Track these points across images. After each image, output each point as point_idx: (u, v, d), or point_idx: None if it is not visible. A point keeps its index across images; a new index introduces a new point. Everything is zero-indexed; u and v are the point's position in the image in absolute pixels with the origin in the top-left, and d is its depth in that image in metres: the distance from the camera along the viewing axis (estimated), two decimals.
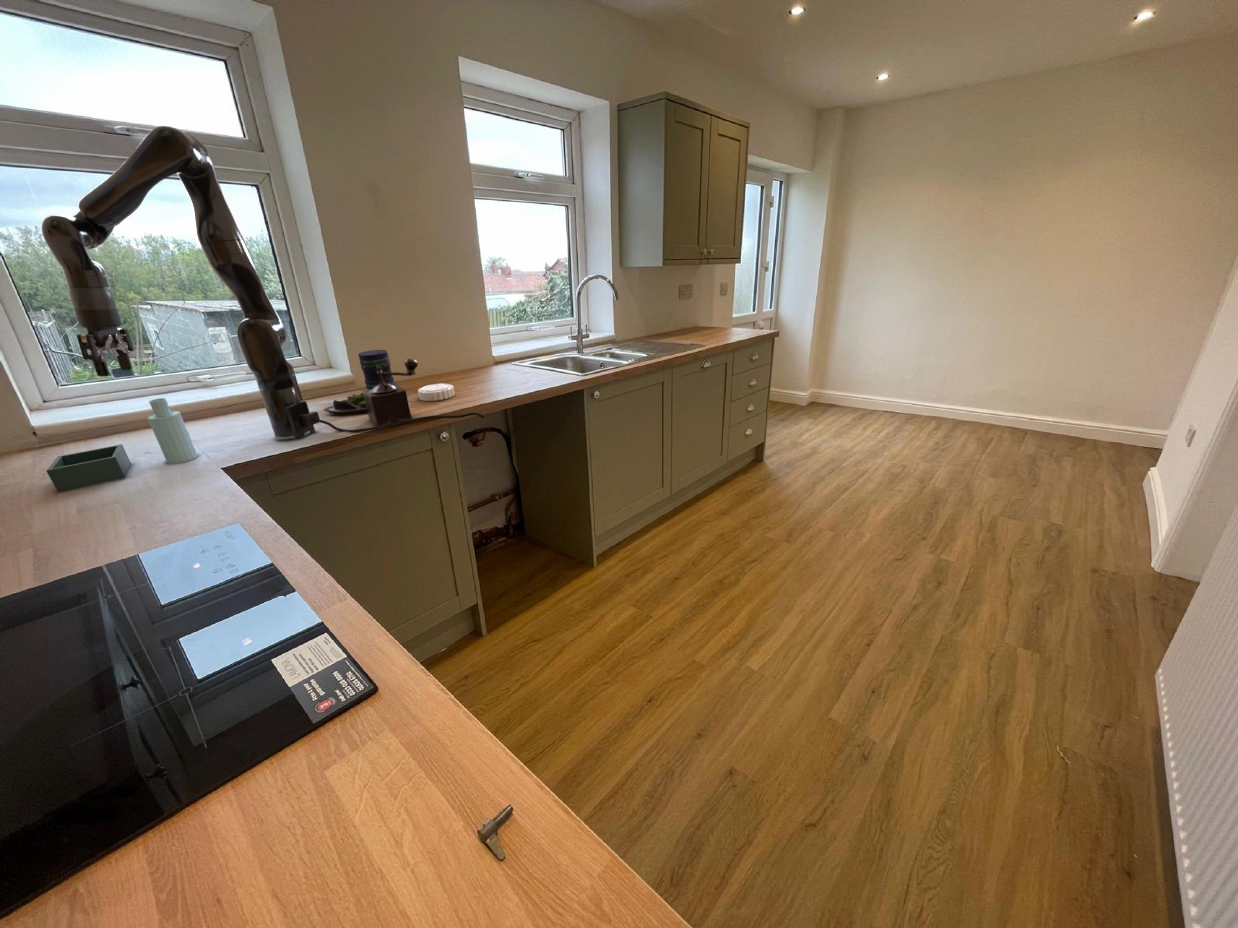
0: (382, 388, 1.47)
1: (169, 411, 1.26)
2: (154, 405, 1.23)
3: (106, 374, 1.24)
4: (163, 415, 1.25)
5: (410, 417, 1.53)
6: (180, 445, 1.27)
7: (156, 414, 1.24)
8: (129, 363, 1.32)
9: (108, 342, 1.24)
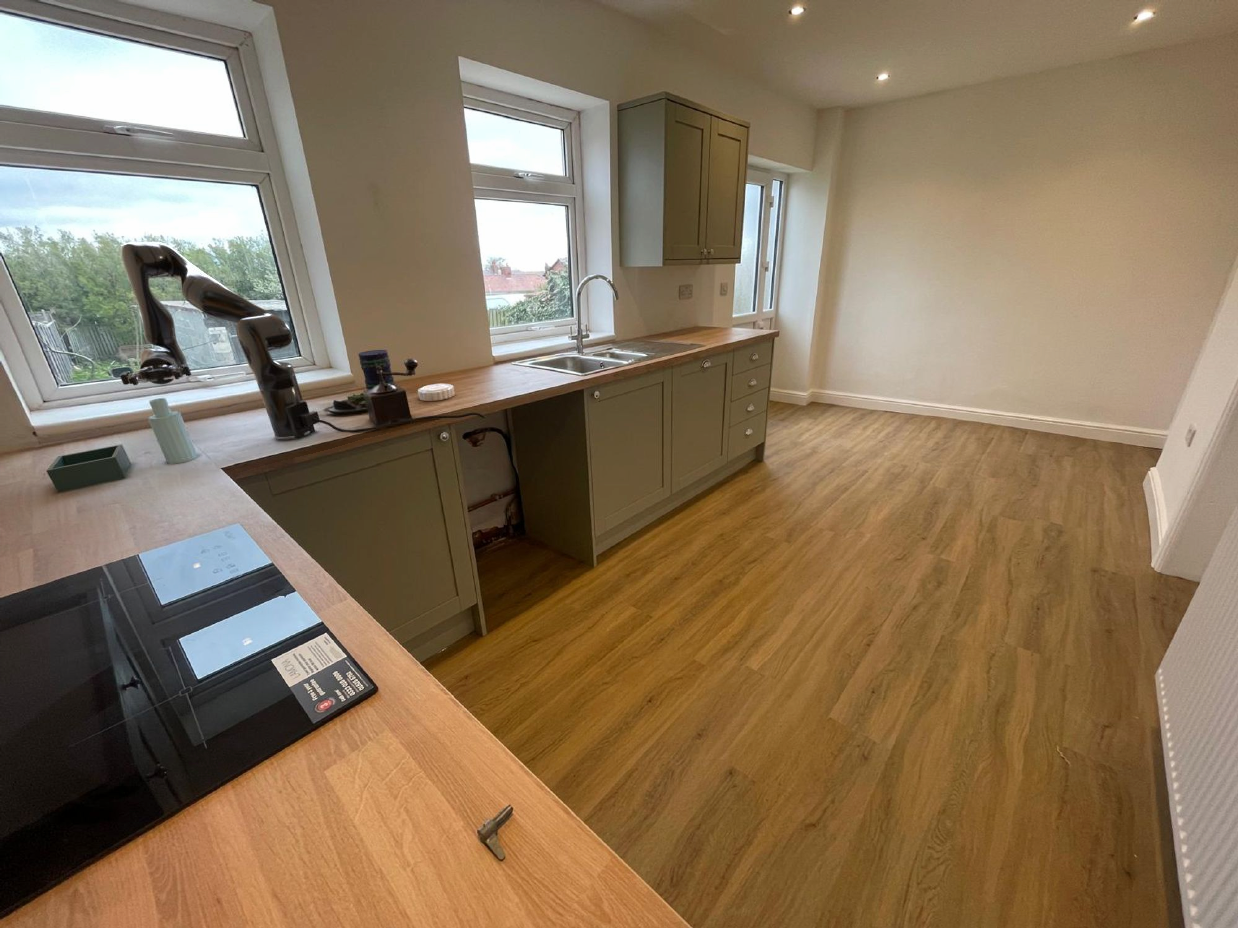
0: (382, 388, 1.47)
1: (169, 411, 1.26)
2: (154, 405, 1.23)
3: None
4: (163, 415, 1.25)
5: (410, 417, 1.53)
6: (180, 445, 1.27)
7: (156, 414, 1.24)
8: (174, 370, 1.34)
9: (144, 368, 1.35)
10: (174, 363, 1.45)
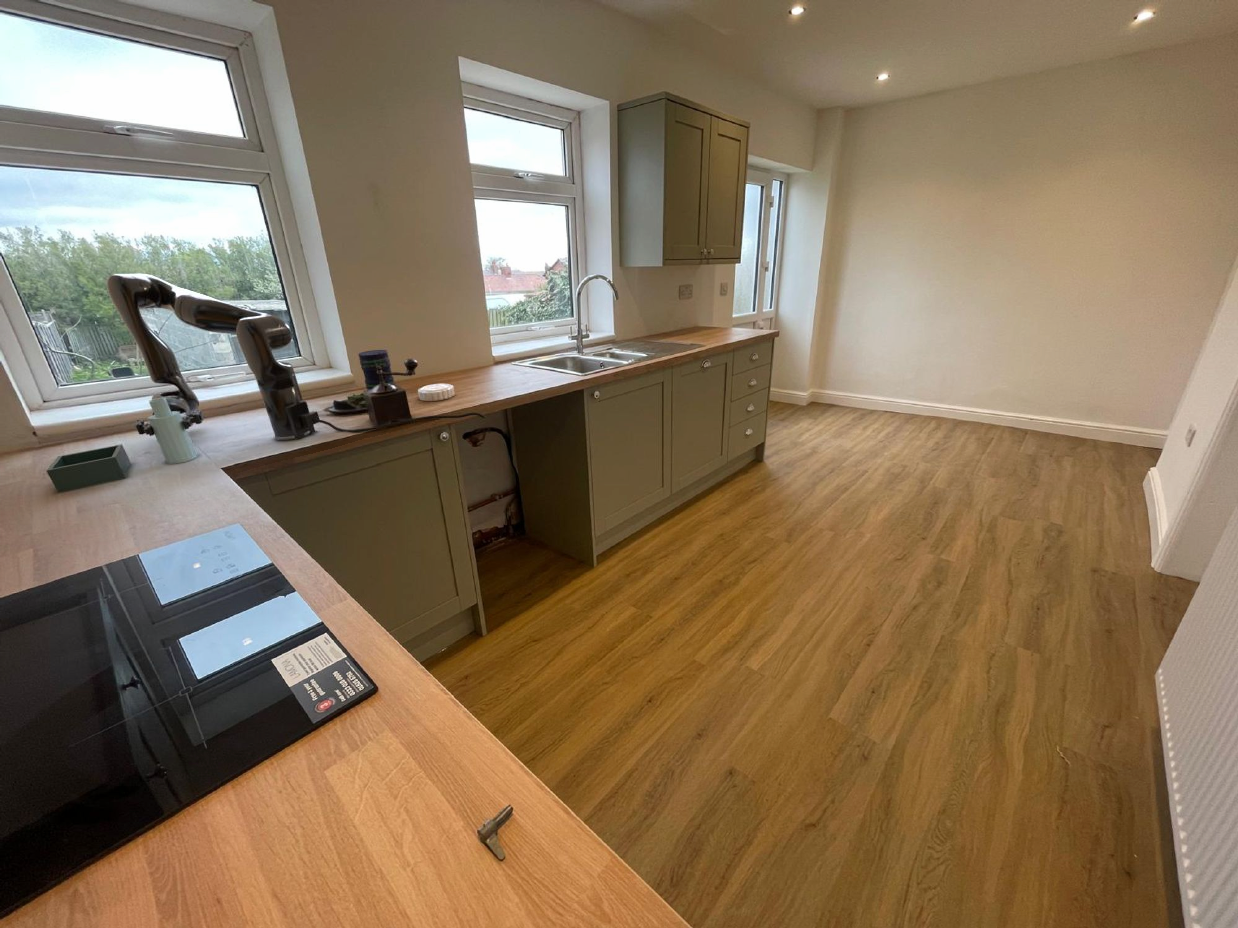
0: (382, 388, 1.47)
1: (169, 411, 1.26)
2: (154, 405, 1.23)
3: None
4: (163, 415, 1.25)
5: (410, 417, 1.53)
6: (180, 445, 1.27)
7: (156, 414, 1.24)
8: (183, 420, 1.28)
9: None
10: (187, 408, 1.39)
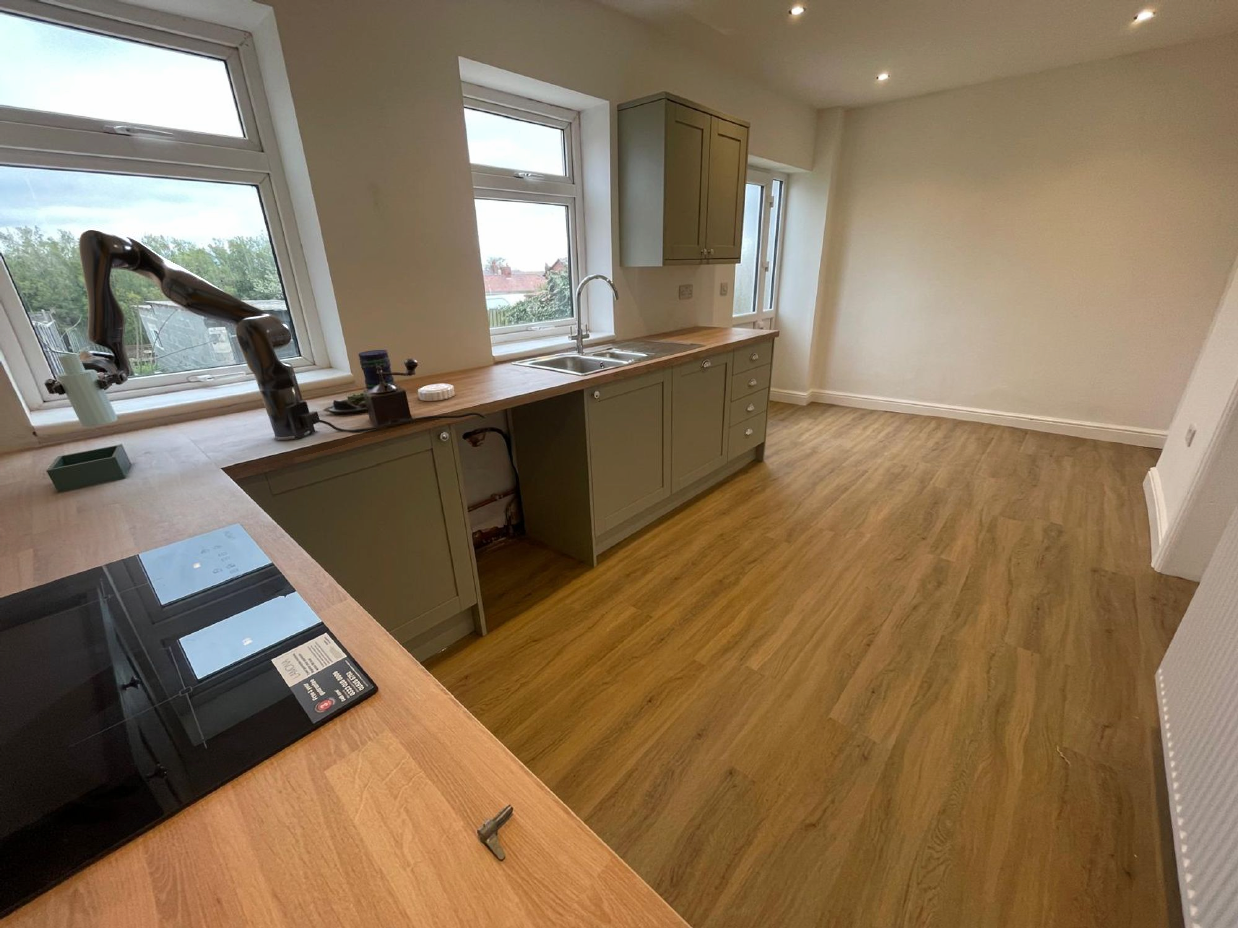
0: (382, 388, 1.47)
1: (82, 368, 1.15)
2: (63, 361, 1.12)
3: None
4: (74, 372, 1.13)
5: (410, 417, 1.53)
6: (95, 406, 1.16)
7: (66, 371, 1.13)
8: (99, 379, 1.17)
9: None
10: (110, 369, 1.28)
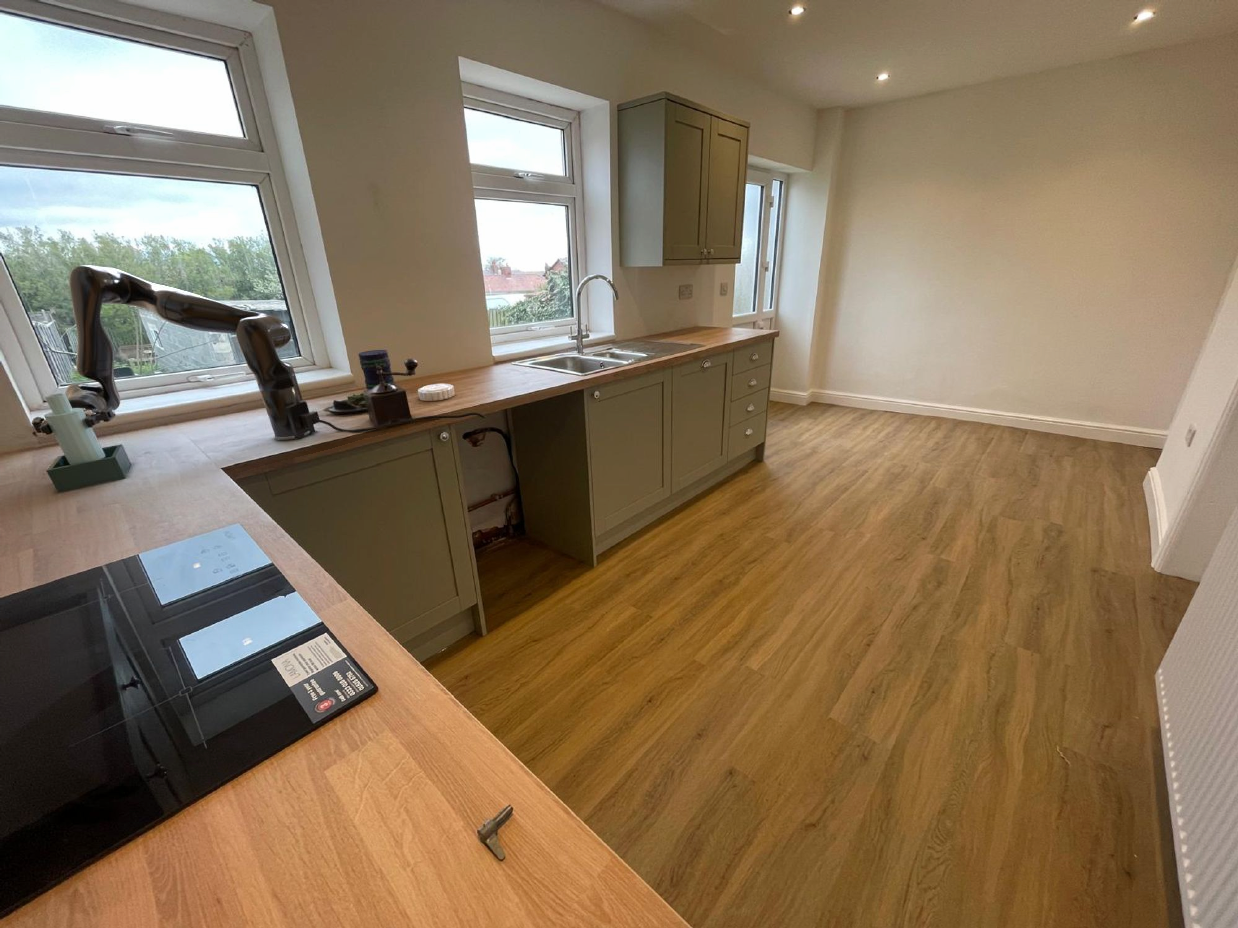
0: (382, 388, 1.47)
1: (69, 408, 1.15)
2: (50, 401, 1.12)
3: None
4: (61, 412, 1.14)
5: (410, 417, 1.53)
6: (82, 445, 1.17)
7: (53, 411, 1.13)
8: (86, 417, 1.17)
9: None
10: (99, 404, 1.28)
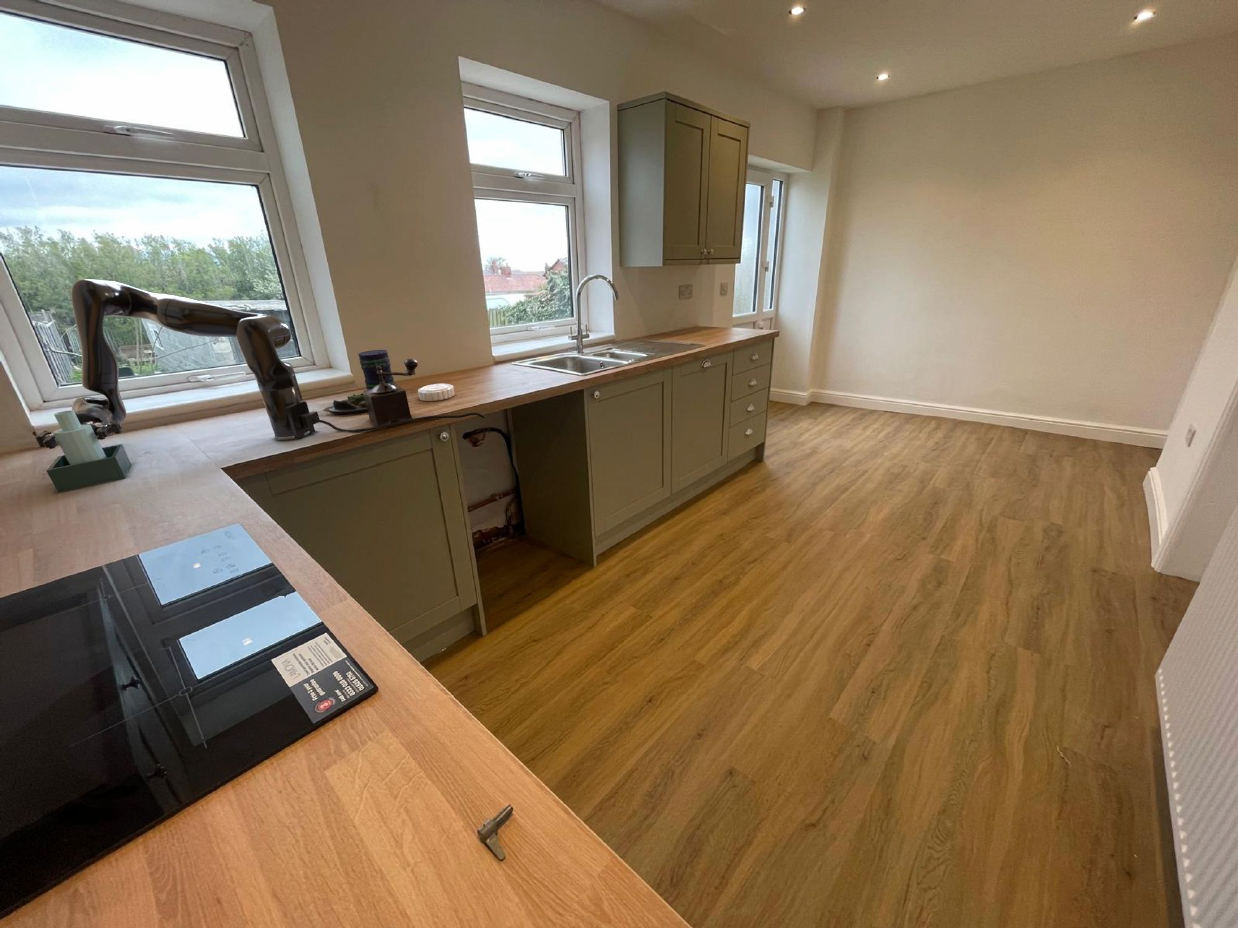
0: (382, 388, 1.47)
1: (78, 424, 1.17)
2: (59, 418, 1.14)
3: None
4: (70, 429, 1.16)
5: (410, 417, 1.53)
6: None
7: (62, 428, 1.15)
8: (98, 429, 1.19)
9: None
10: (105, 417, 1.29)
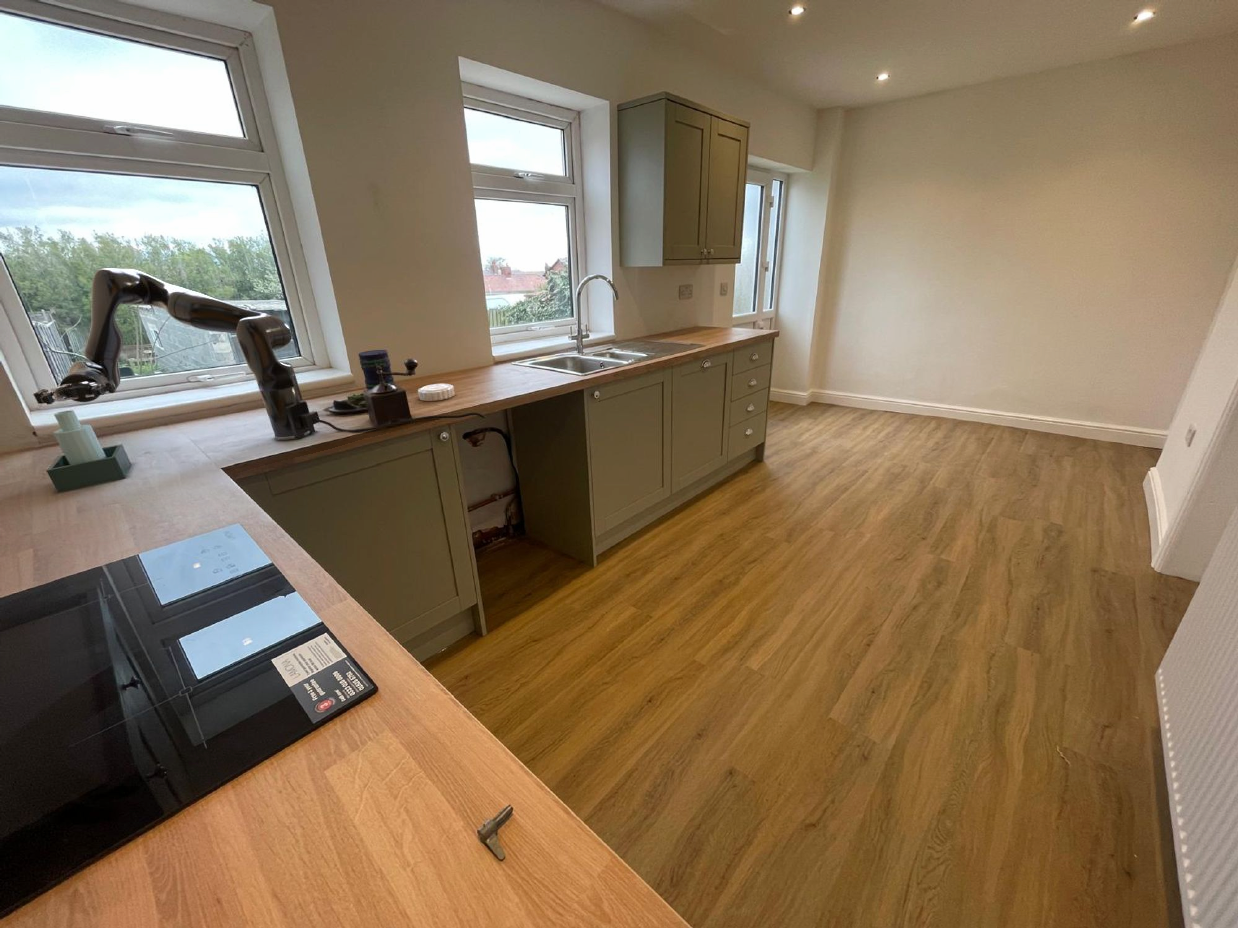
0: (382, 388, 1.47)
1: (78, 424, 1.17)
2: (59, 418, 1.14)
3: None
4: (70, 429, 1.16)
5: (410, 417, 1.53)
6: None
7: (62, 428, 1.15)
8: (93, 387, 1.26)
9: (63, 385, 1.27)
10: (100, 379, 1.36)
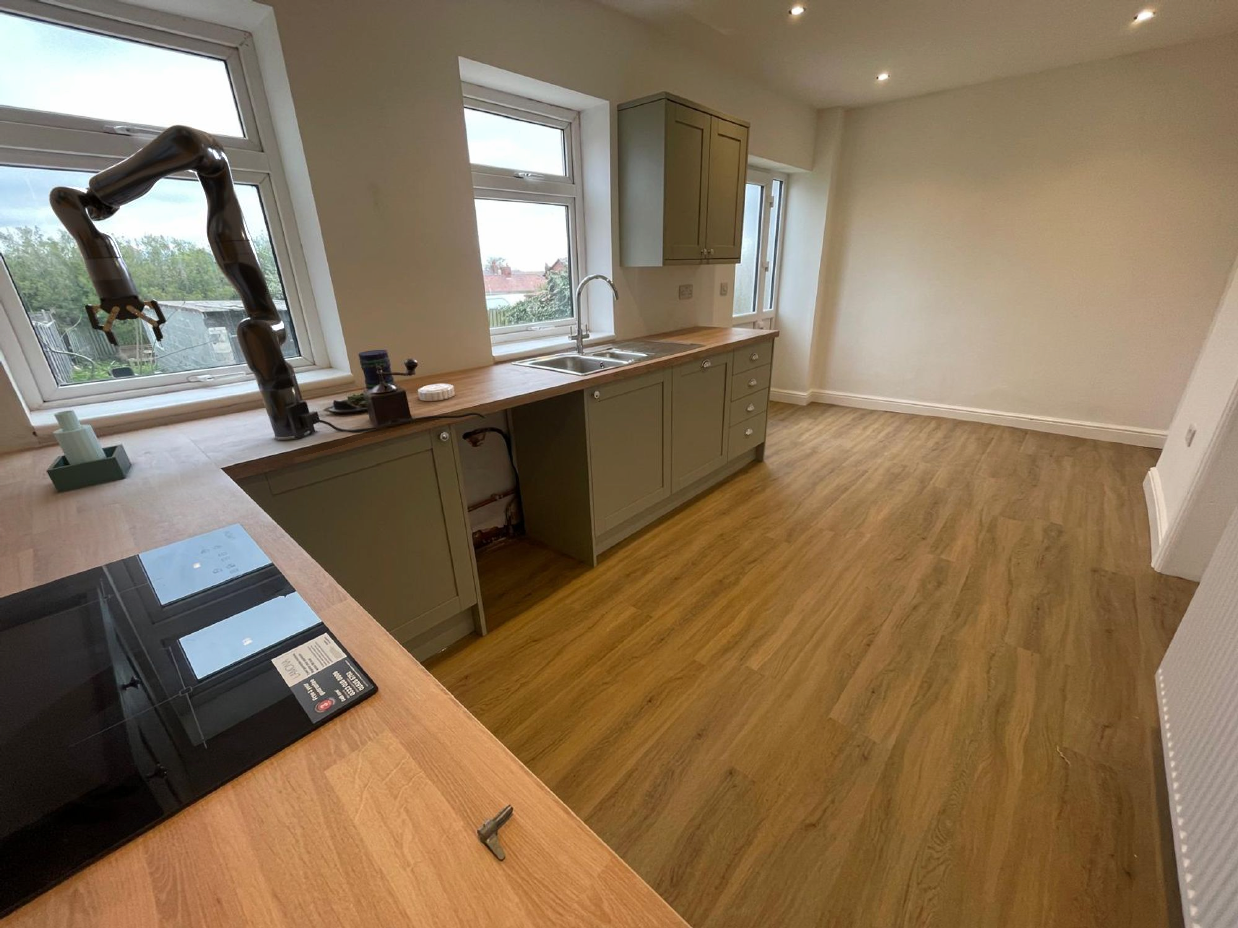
0: (382, 388, 1.47)
1: (78, 424, 1.17)
2: (59, 418, 1.14)
3: None
4: (70, 429, 1.16)
5: (410, 417, 1.53)
6: None
7: (62, 428, 1.15)
8: (156, 335, 1.33)
9: (113, 313, 1.26)
10: (130, 279, 1.27)
